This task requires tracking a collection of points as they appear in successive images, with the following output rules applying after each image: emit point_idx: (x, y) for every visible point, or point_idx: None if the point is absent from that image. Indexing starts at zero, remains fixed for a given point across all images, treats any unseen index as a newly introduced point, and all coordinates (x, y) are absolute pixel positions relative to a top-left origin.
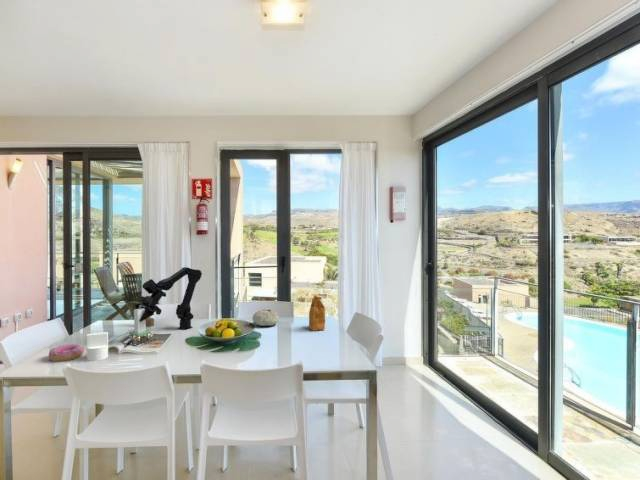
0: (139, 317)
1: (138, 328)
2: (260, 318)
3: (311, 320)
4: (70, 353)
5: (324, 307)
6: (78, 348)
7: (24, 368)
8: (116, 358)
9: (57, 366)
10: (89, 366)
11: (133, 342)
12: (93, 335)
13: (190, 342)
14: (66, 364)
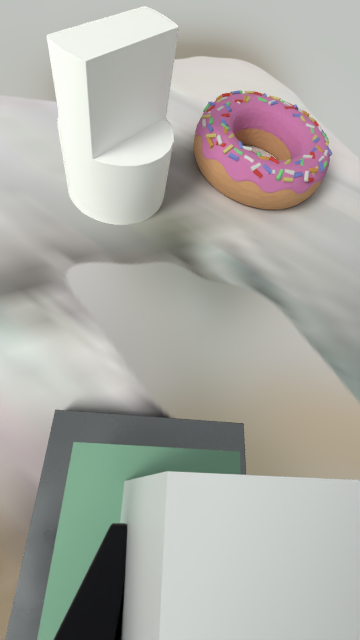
0: (128, 547)
1: (125, 494)
2: None
3: None
4: (202, 115)
5: None
6: (215, 133)
7: (250, 87)
8: (3, 199)
9: (172, 105)
10: (47, 115)
11: (124, 427)
12: (118, 19)
13: None
14: None
